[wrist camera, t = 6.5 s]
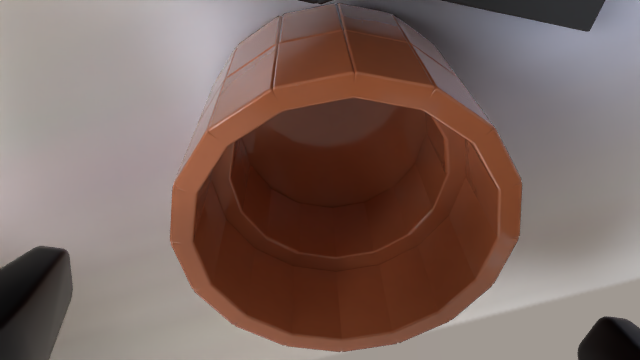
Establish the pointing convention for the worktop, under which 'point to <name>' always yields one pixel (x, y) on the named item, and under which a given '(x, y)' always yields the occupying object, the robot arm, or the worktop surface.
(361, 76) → the bowl
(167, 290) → the worktop surface
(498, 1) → the scale
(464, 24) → the worktop surface
